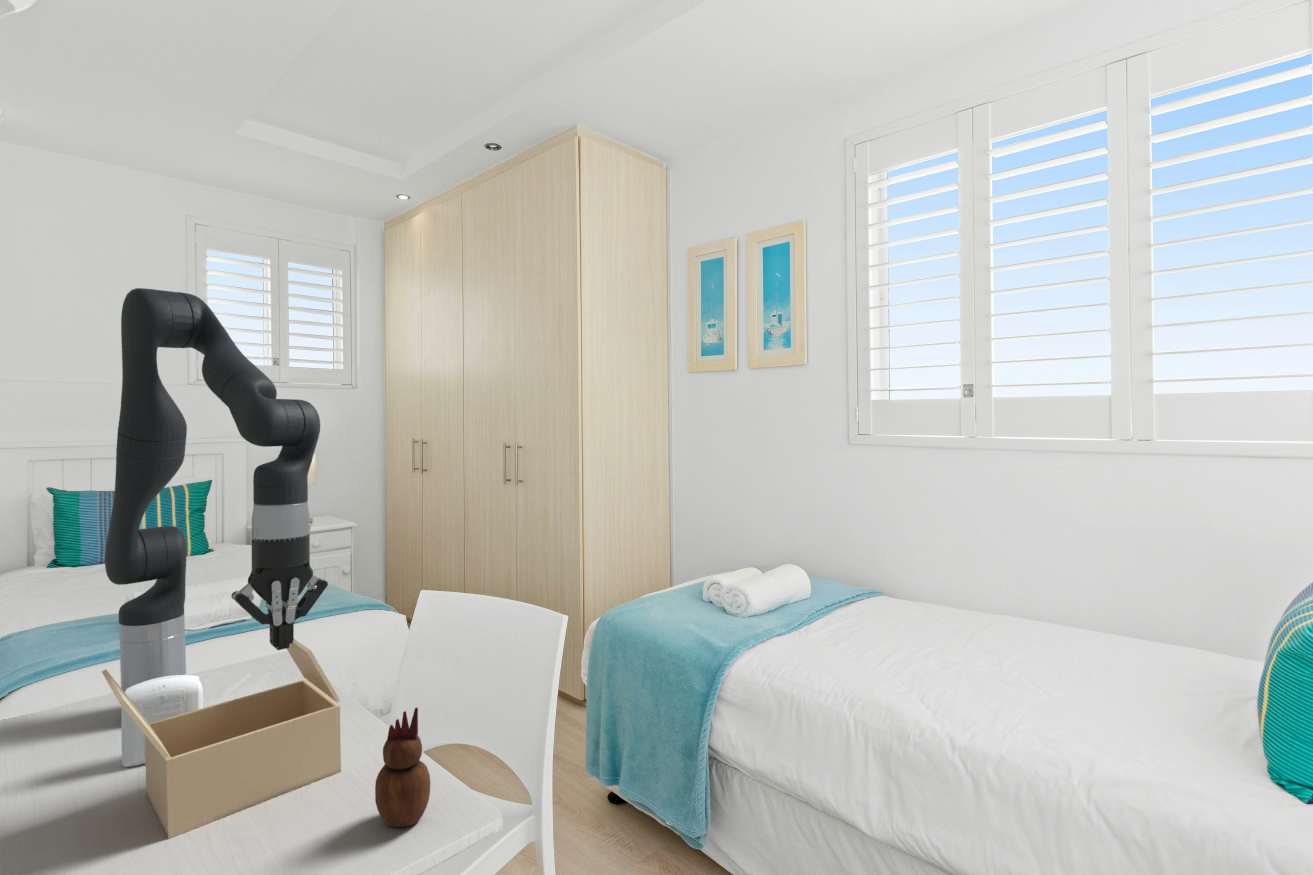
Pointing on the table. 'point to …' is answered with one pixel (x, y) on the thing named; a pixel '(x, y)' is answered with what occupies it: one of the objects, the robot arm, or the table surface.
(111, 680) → the near flap
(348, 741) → the table surface
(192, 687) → the photo printer
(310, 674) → the far flap
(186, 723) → the carton
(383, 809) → the wooden figurine
